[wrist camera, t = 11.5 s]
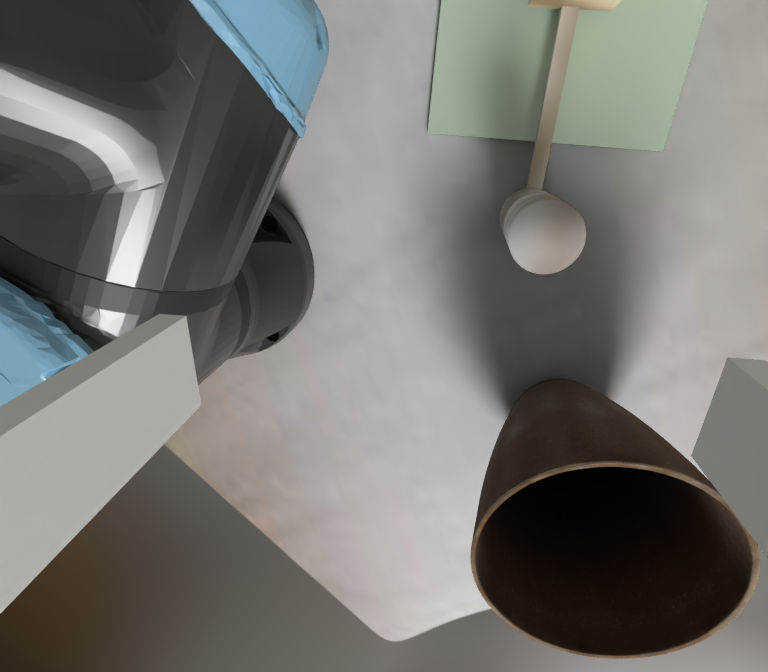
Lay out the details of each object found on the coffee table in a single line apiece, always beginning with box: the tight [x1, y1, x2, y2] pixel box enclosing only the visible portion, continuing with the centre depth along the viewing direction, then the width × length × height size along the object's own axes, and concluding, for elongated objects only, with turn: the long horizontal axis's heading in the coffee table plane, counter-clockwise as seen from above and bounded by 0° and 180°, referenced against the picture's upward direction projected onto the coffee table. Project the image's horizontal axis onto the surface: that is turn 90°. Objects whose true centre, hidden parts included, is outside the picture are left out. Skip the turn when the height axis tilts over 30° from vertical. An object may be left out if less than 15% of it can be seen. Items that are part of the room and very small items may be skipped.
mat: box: [427, 0, 708, 151], centre depth 28 cm, size 16×15×1 cm
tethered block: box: [500, 0, 622, 274], centre depth 25 cm, size 5×20×9 cm, turn 176°
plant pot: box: [471, 380, 760, 659], centre depth 32 cm, size 15×15×16 cm
